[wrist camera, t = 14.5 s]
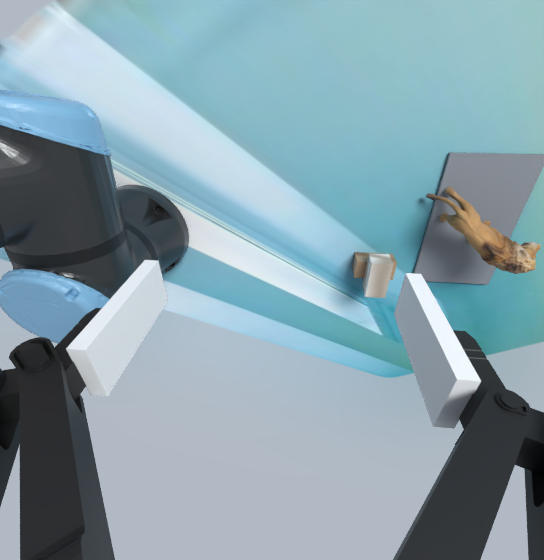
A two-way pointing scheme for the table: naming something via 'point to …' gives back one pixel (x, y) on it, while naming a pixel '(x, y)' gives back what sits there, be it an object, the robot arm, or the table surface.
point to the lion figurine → (488, 237)
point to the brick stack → (374, 272)
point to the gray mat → (488, 204)
